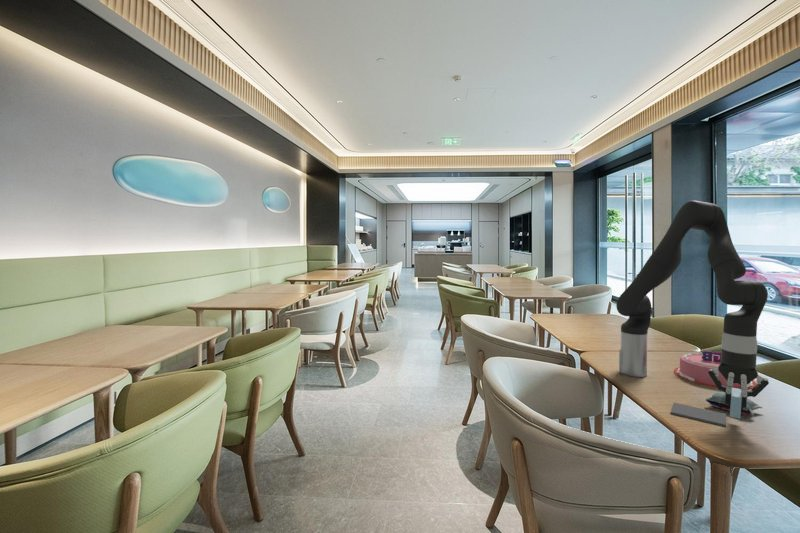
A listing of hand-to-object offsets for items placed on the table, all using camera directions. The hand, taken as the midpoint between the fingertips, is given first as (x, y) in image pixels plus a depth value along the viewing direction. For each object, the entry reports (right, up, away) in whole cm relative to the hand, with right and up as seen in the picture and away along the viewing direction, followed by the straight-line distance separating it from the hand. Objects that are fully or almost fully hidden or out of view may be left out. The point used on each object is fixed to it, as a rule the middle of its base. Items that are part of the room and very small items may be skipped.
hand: (735, 406), depth 106 cm
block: (0, -2, 0) cm, 2 cm away
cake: (+26, -3, +38) cm, 46 cm away
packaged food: (+8, -5, +10) cm, 14 cm away
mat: (-6, -5, +7) cm, 10 cm away
